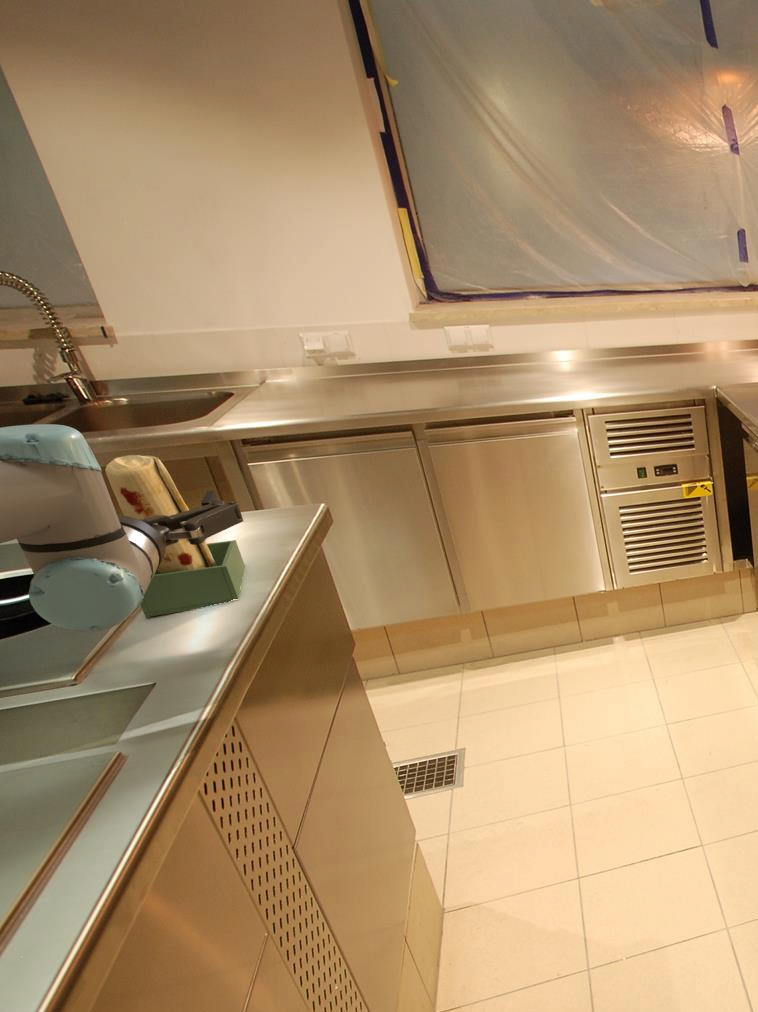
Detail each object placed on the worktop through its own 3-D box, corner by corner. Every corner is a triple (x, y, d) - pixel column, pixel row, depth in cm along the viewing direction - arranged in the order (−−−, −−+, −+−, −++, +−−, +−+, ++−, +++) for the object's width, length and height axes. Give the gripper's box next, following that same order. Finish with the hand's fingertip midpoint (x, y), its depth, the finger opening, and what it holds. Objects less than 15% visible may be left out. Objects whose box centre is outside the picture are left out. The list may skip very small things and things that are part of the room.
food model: (167, 585, 123) (94, 453, 112) (224, 571, 127) (158, 443, 116) (172, 609, 117) (94, 472, 106) (231, 594, 120) (162, 461, 110)
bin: (145, 617, 114) (129, 579, 112) (161, 586, 124) (147, 550, 122) (239, 602, 120) (226, 566, 117) (248, 574, 130) (235, 539, 127)
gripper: (-31, 608, 88) (26, 550, 104) (265, 567, 101) (276, 521, 117) (-67, 540, 85) (-2, 491, 101) (244, 507, 98) (258, 468, 113)
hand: (147, 507), depth 109 cm, fingers open, 13 cm apart
